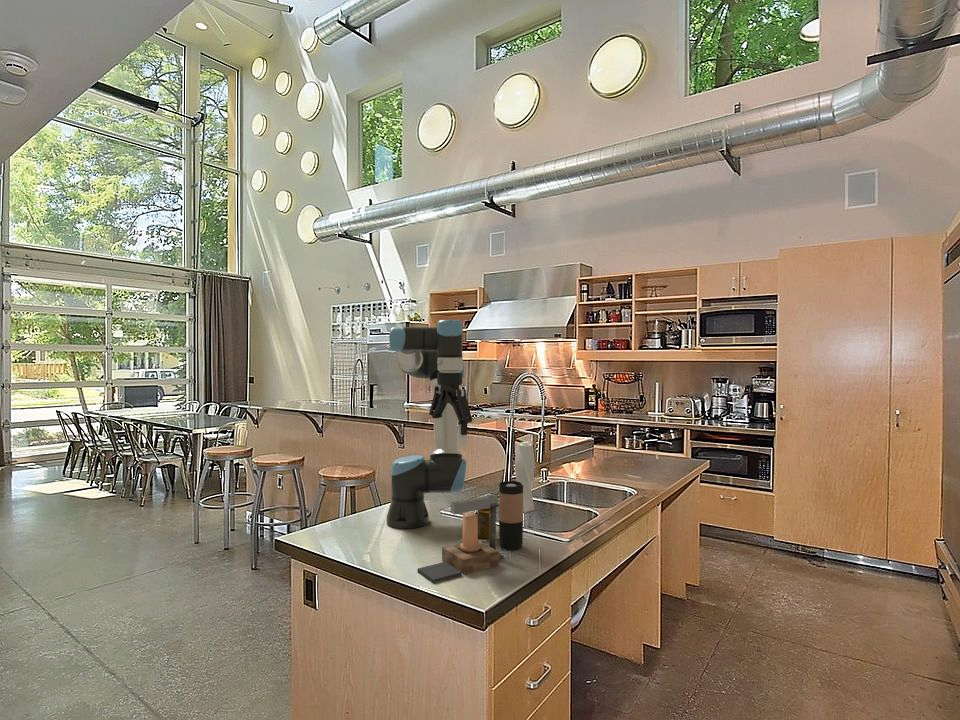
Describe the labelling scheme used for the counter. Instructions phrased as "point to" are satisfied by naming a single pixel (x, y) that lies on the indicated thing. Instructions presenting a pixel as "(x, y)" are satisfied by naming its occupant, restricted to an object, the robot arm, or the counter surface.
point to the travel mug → (510, 515)
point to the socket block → (477, 559)
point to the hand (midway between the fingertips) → (449, 442)
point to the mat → (439, 572)
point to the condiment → (483, 525)
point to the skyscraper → (525, 473)
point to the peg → (470, 534)
